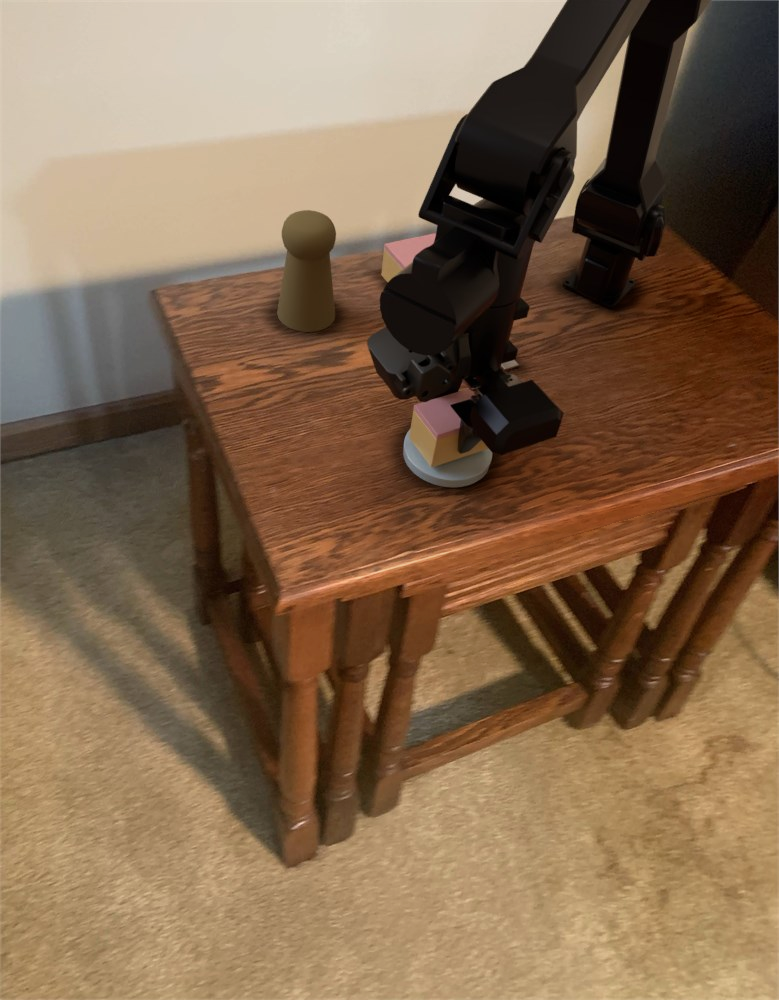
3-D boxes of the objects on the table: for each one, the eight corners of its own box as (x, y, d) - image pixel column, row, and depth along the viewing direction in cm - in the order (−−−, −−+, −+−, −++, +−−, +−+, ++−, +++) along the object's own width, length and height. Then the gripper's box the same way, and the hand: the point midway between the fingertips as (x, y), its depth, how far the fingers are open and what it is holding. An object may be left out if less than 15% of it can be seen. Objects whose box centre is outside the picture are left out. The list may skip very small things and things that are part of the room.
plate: (434, 412, 79) (435, 404, 79) (506, 452, 77) (508, 444, 76) (385, 458, 75) (386, 450, 74) (460, 502, 72) (462, 494, 71)
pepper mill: (269, 301, 88) (268, 205, 80) (323, 293, 90) (328, 198, 82) (288, 336, 85) (289, 239, 76) (343, 326, 87) (350, 230, 78)
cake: (380, 275, 93) (384, 243, 90) (456, 258, 97) (462, 227, 94) (407, 305, 90) (411, 273, 87) (484, 286, 94) (491, 255, 91)
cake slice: (408, 437, 75) (414, 404, 72) (465, 420, 77) (472, 387, 74) (431, 468, 72) (437, 435, 69) (488, 448, 75) (497, 416, 72)
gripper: (331, 239, 64) (322, 392, 76) (456, 389, 54) (425, 540, 66) (453, 214, 69) (428, 363, 80) (591, 350, 58) (539, 497, 70)
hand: (451, 435), depth 74 cm, fingers closed on cake slice, 4 cm apart
